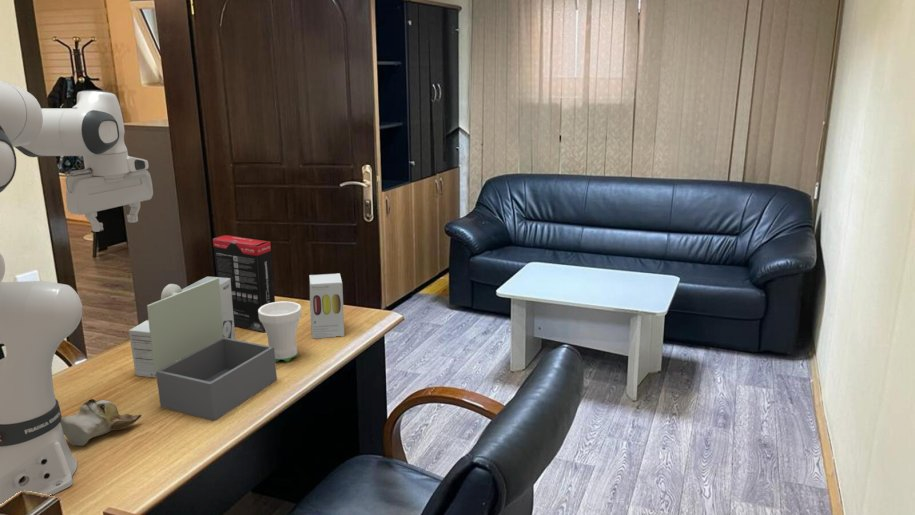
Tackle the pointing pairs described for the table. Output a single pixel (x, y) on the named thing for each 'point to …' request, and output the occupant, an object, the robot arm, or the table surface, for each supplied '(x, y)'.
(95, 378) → the table surface
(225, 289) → the hard drive box
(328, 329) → the supplement box
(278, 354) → the cup
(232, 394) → the carton
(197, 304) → the lid flap
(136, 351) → the supplement box
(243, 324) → the graphics card box
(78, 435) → the ceramic sculpture
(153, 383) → the table surface
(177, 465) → the table surface
